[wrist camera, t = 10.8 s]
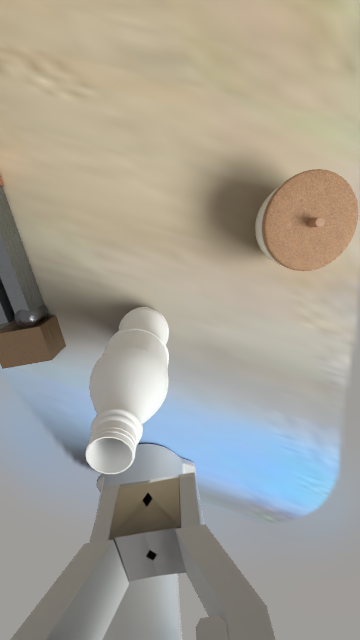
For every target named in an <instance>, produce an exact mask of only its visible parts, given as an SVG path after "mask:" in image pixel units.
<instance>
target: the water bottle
mask: <svg viewBox="0 0 360 640" xmlns="http://www.w3.org/2000/svg"><path fill="white" fill-rule="evenodd" d="M168 336H169V329H168V324H167V322H166V320H165V318H164V317H163V315H162V314H161V313H160V312H157V311H155V310H152V309H151V308H148V307H139V308H136V309H133V310H131V311H130V312H128V313H127V314H126V315H125V316H124V317H123V319H122V320H121V322H120V325H119V331H118V332H117V333H115V334H114V335H113V336H112V337H111V339H110V341H109V342H108V344H107V346H106V349H105V351H104V353H103V355H102V357H101V358H100V359H99V360H98V361H97V363H96V364H95V366H94V368H93V371H92V374H91V377H90V386H89V388H90V396H91V399H92V403H93V405H94V408H95V411H96V413H97V416H96V417H95V418H94V420H93V422H92V425H91V435H90V436H91V438H90V440H89V443H88V445H87V448H86V460H87V462H88V463H89V465H90V466H91V467H92V468H93V469H95V470H96V471H98V472H101V473H104V474H117V473H120V472H123V471H125V470H126V469H127V468H129V467H130V466H131V464H132V463H133V460H134V458H135V450H136V446H137V444H138V443H139V440H140V438H141V436H142V431H143V427H142V424H143V423H144V422H146V421H147V420H148V419H149V418H150V417H151V416H153V415H154V414H155V413H156V411H157V410H158V409H159V408H160V406H161V405H162V403H163V401H164V399H165V397H166V394H167V390H168V374H167V366H168V361H169V353H168V349H167V347H166V343H167V340H168Z"/></svg>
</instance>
